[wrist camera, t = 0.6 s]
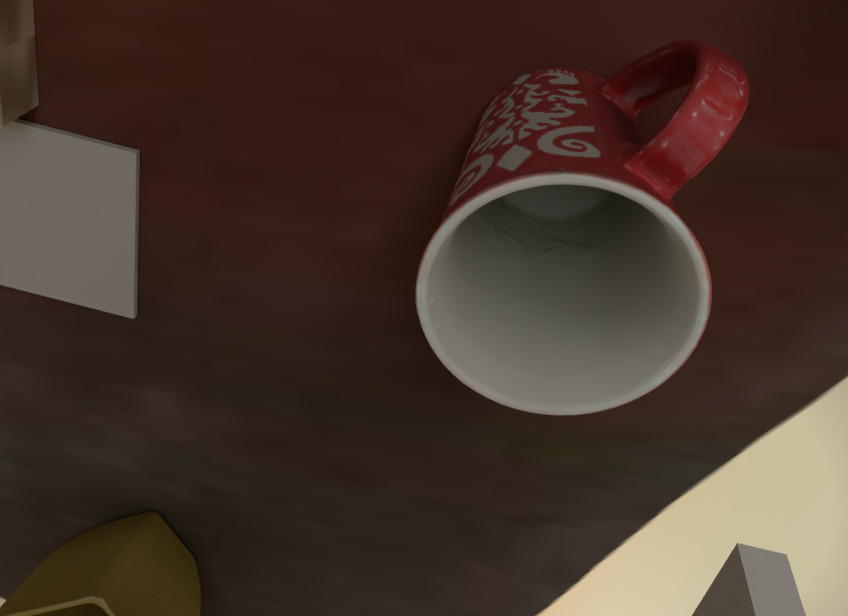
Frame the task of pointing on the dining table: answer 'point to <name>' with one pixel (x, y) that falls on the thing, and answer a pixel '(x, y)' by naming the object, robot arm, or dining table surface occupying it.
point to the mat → (69, 217)
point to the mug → (579, 234)
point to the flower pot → (113, 574)
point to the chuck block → (17, 60)
